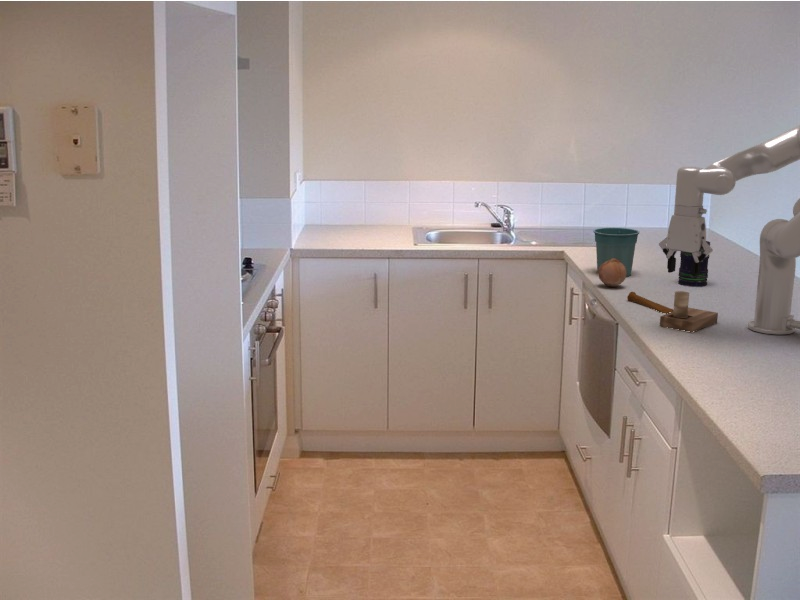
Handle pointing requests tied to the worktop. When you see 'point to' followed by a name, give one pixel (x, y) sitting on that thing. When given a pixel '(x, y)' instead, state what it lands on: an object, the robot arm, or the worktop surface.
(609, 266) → the onion
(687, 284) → the storage jar
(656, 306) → the primitive tool
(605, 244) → the flower pot
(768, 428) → the worktop surface
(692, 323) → the board
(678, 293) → the peg
